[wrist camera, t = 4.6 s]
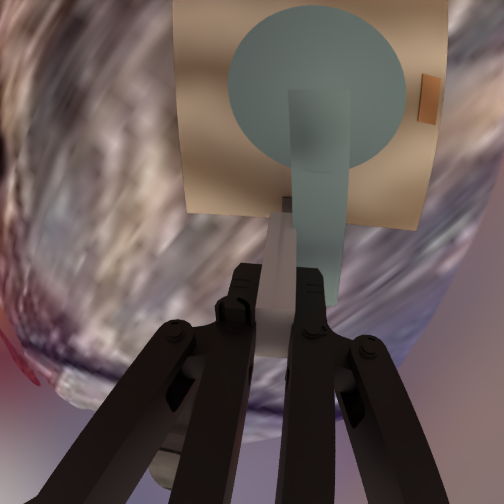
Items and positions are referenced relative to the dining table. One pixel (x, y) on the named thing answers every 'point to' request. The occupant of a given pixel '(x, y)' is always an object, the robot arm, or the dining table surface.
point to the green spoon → (317, 115)
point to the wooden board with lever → (278, 175)
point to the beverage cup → (172, 448)
